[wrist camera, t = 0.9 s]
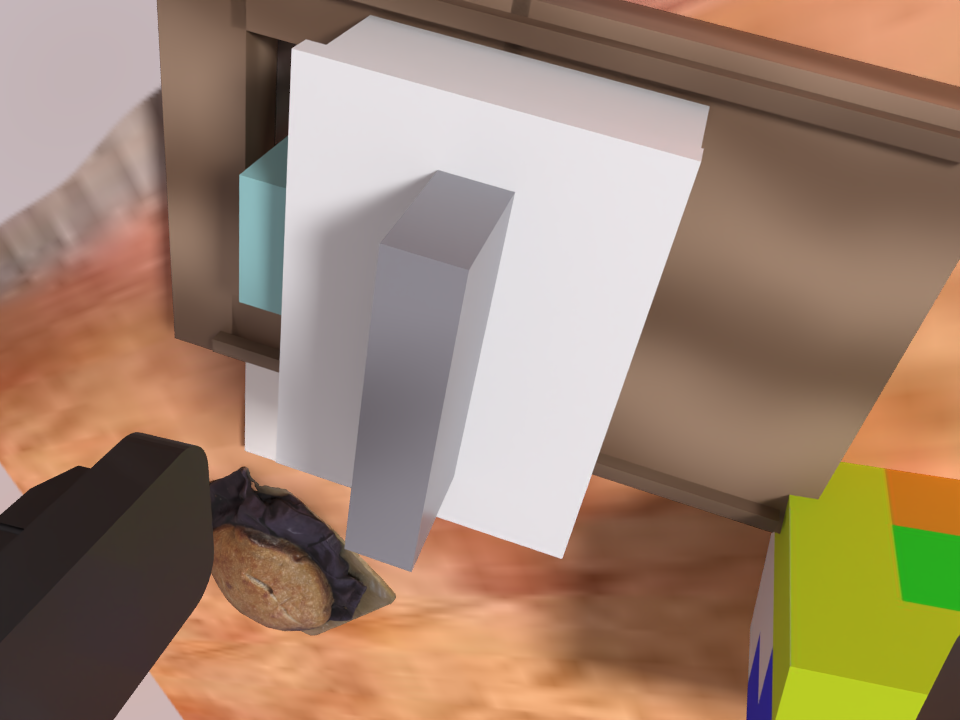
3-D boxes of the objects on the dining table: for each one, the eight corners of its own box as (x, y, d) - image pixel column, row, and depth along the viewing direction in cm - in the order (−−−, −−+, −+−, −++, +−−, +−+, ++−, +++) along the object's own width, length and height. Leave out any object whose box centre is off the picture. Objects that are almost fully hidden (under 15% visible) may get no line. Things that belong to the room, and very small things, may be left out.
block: (324, 106, 30) (239, 174, 26) (448, 141, 30) (384, 218, 25) (316, 220, 33) (239, 301, 28) (430, 254, 33) (370, 343, 28)
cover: (371, -3, 25) (205, 103, 18) (715, 88, 24) (685, 241, 17) (337, 374, 34) (215, 548, 26) (590, 455, 33) (534, 661, 25)
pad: (252, 349, 38) (245, 356, 37) (373, 388, 37) (368, 396, 36) (251, 442, 41) (244, 450, 40) (362, 479, 40) (357, 488, 40)
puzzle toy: (750, 620, 39) (741, 842, 31) (789, 446, 33) (789, 666, 26) (1000, 669, 37) (1058, 923, 29) (1087, 491, 31) (1190, 749, 23)
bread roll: (412, 587, 45) (386, 646, 42) (308, 630, 49) (279, 686, 46) (263, 442, 42) (224, 495, 39) (167, 502, 46) (126, 554, 43)
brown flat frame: (191, -111, 27) (139, -97, 25) (1017, 101, 24) (1040, 138, 22) (203, 309, 37) (166, 346, 35) (794, 498, 34) (795, 550, 32)
